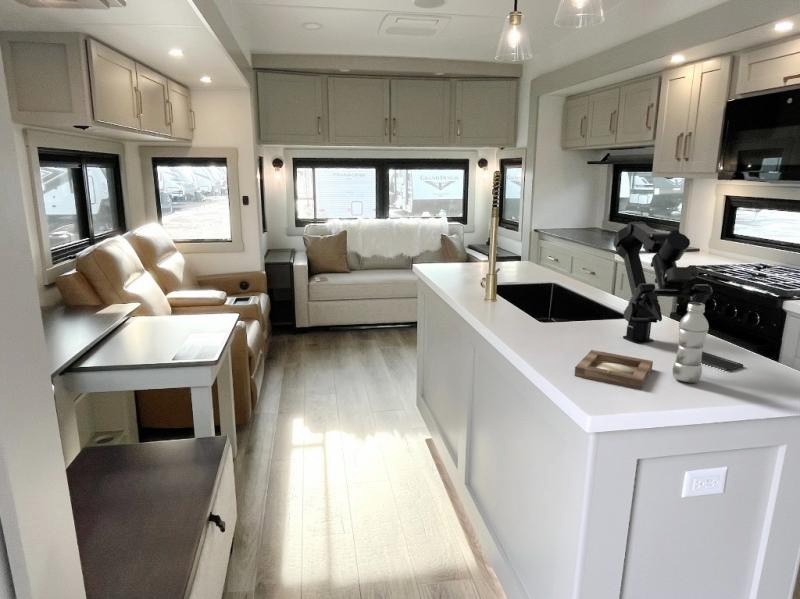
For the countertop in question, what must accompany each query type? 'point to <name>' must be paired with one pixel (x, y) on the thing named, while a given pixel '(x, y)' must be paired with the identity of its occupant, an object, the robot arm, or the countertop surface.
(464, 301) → the countertop surface
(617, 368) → the brown wooden frame
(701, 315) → the plastic bottle
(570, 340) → the countertop surface
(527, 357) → the countertop surface
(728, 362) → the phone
